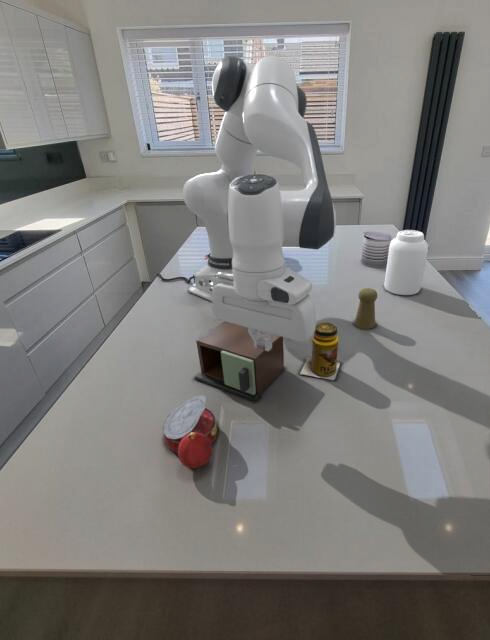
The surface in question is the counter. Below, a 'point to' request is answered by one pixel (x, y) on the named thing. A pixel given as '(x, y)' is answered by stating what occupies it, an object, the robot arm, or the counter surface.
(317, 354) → the condiment
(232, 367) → the sliding door
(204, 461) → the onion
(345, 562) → the counter surface
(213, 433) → the canned food
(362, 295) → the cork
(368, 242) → the can
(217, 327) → the cabinet
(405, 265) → the white jar
